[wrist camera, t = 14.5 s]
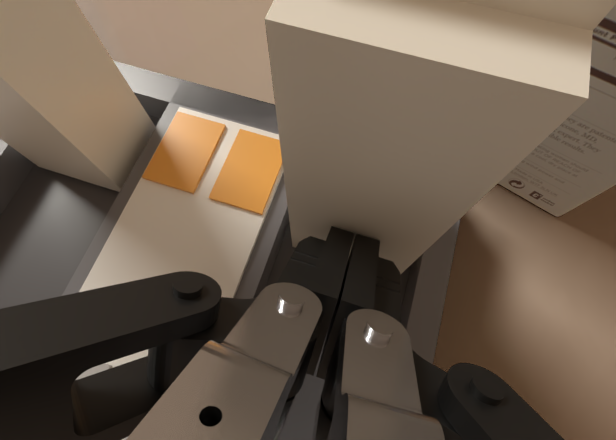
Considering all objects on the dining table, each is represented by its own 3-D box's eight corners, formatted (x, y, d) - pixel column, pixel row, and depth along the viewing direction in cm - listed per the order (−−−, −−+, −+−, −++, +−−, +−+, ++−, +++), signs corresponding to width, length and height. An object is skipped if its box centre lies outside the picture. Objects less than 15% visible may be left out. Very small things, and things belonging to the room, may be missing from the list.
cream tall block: (395, 278, 14) (646, 44, 4) (292, 246, 14) (256, -45, 4) (412, 207, 15) (646, -133, 5) (316, 179, 15) (336, -189, 5)
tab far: (126, 194, 15) (-256, -163, 5) (38, 166, 15) (-482, -214, 5) (159, 133, 16) (-97, -267, 6) (76, 109, 16) (-297, -302, 6)
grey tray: (350, 617, 12) (368, 726, 8) (-113, 424, 14) (-258, 445, 10) (442, 191, 17) (477, 146, 14) (100, 94, 19) (53, 33, 16)
